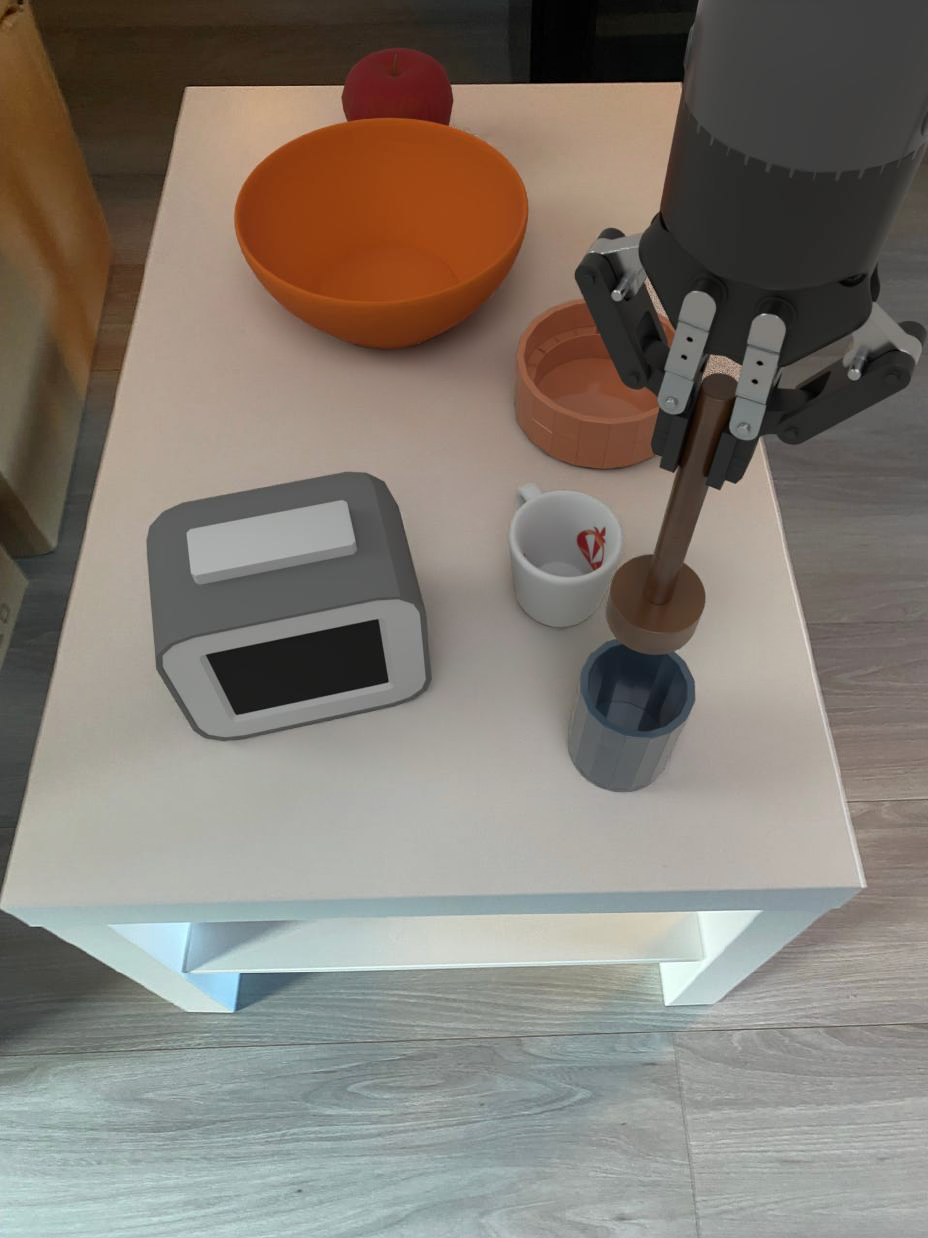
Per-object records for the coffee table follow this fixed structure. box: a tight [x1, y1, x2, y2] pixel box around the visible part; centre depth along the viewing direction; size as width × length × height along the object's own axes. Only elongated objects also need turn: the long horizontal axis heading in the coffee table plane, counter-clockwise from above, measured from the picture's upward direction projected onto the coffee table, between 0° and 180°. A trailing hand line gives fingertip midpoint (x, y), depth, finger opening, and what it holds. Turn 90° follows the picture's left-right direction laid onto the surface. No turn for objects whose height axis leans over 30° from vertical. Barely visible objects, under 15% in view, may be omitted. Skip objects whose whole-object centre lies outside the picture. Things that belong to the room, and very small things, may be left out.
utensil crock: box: [567, 638, 696, 793], centre depth 62 cm, size 7×7×9 cm
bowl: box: [233, 118, 530, 350], centre depth 85 cm, size 25×25×10 cm
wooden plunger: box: [605, 372, 738, 655], centre depth 46 cm, size 5×5×18 cm
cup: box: [507, 482, 625, 628], centre depth 69 cm, size 11×8×8 cm
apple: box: [340, 47, 454, 126], centre depth 95 cm, size 11×11×12 cm
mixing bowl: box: [513, 298, 675, 470], centre depth 79 cm, size 14×14×6 cm
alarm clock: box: [145, 471, 432, 742], centre depth 63 cm, size 16×11×16 cm
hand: (696, 465), depth 43 cm, fingers closed on wooden plunger
